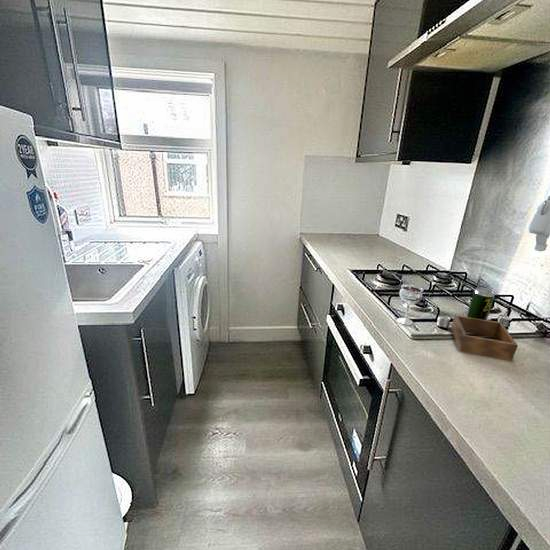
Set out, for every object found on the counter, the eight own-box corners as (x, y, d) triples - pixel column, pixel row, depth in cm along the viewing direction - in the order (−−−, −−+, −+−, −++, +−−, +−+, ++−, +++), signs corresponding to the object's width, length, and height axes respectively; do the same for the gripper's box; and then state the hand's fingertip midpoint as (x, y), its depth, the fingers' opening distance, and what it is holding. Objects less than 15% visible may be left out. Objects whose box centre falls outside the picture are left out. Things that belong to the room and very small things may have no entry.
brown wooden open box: (496, 336, 92) (501, 322, 90) (512, 361, 81) (518, 345, 79) (450, 328, 96) (454, 314, 94) (459, 351, 85) (464, 335, 83)
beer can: (462, 322, 100) (471, 289, 96) (469, 317, 103) (479, 285, 99) (479, 329, 96) (490, 295, 92) (487, 324, 99) (498, 291, 94)
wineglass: (393, 314, 104) (399, 282, 99) (414, 317, 102) (421, 285, 98) (394, 324, 97) (401, 290, 93) (417, 328, 96) (425, 293, 91)
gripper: (564, 197, 66) (542, 256, 71) (605, 194, 75) (582, 247, 80) (531, 193, 72) (513, 249, 77) (573, 191, 80) (554, 242, 85)
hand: (549, 248), depth 78 cm, fingers open, 8 cm apart
